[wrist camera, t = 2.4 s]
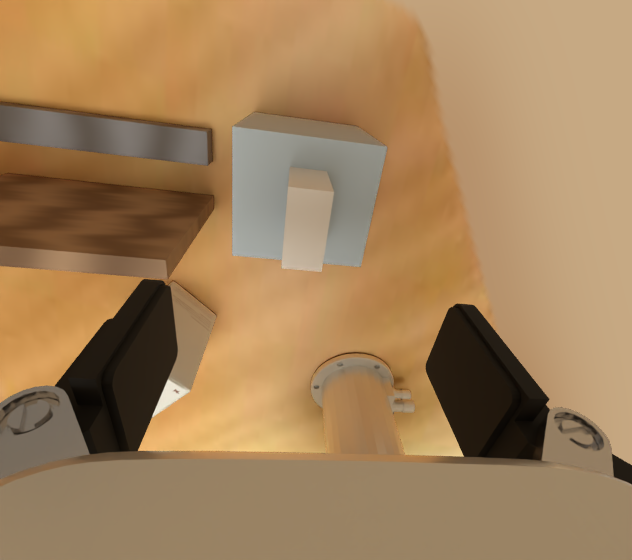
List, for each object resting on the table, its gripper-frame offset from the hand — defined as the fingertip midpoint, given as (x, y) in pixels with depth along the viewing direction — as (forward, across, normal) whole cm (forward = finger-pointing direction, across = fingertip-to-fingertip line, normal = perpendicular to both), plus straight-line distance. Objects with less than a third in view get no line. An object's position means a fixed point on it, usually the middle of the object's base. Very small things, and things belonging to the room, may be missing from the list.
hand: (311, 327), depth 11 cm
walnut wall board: (+26, +19, +2) cm, 33 cm away
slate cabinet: (+26, 0, 0) cm, 27 cm away
